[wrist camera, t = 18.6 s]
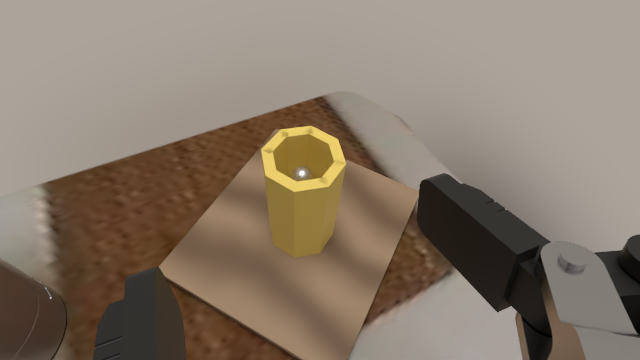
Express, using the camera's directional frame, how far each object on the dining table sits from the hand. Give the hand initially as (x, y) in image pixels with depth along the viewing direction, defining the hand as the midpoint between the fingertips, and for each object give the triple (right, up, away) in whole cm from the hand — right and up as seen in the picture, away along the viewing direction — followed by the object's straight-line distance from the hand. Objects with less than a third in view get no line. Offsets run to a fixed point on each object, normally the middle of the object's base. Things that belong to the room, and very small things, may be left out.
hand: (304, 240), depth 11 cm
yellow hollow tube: (-1, -3, +24) cm, 24 cm away
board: (-1, -4, +25) cm, 25 cm away
